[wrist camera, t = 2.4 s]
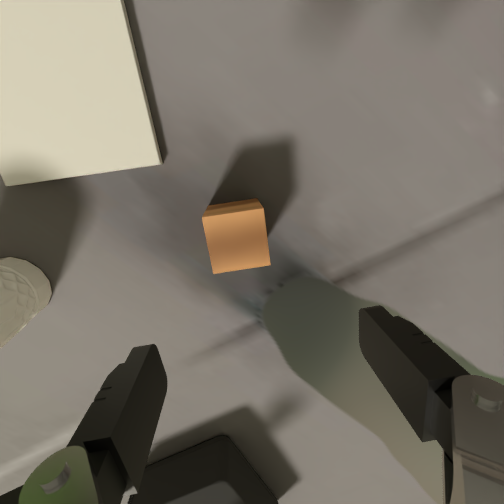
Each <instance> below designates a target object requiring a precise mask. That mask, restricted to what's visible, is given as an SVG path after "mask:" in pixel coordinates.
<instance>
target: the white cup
mask: <svg viewBox="0 0 504 504" xmlns="http://www.w3.org/2000/svg"><path fill="white" fill-rule="evenodd" d="M51 295H52V291H51V286H50V282H49V280H48V279H47V277H46V276H45V275H44V273H43V272H42V271H41V269H39V268H38V267H36V266H34V265H33V264H31V263H30V262H28V261H26V260H22V259H17V258H13V257H6V258H1V259H0V349H1V348H2V347H3V346H4V345H5V344H6V343H8V342H9V341H10V340H11V339H12V338H13V337H14V336H15V335H16V334H17V333H18V332H19V331H21V330H22V329H23V328H24V327H25V326H26V325H27V324H28V322H29V321H30V320H31V319H32V318H33V317H34V316H35V315H36V314H38V313H39V312H40V311H41V310H42V309H44V308H45V307H46V306H47V305H48V303H49V300H50V298H51Z"/></svg>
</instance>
